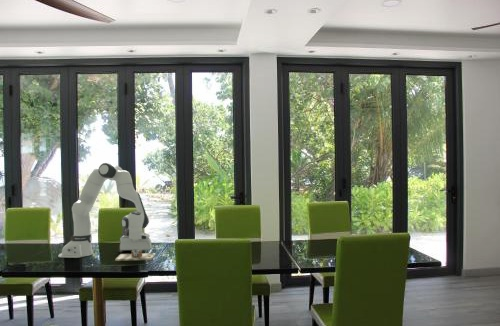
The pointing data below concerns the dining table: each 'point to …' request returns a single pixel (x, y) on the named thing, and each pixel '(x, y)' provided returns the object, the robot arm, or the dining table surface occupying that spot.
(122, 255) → the board
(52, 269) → the dining table surface
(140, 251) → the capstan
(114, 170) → the robot arm
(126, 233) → the camera
